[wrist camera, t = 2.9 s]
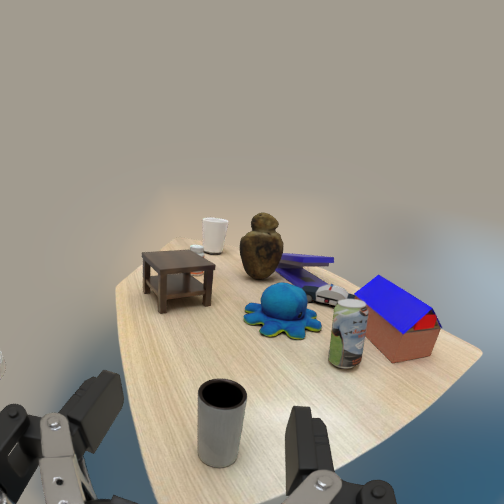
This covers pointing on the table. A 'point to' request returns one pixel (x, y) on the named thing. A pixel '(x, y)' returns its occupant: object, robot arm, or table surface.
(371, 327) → the house
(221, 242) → the cup
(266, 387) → the table surface
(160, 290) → the plant stand
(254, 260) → the sculpture
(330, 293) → the toy car
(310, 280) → the stapler
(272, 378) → the table surface
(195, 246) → the pill bottle
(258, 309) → the plush toy
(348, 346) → the beverage can
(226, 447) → the planter
